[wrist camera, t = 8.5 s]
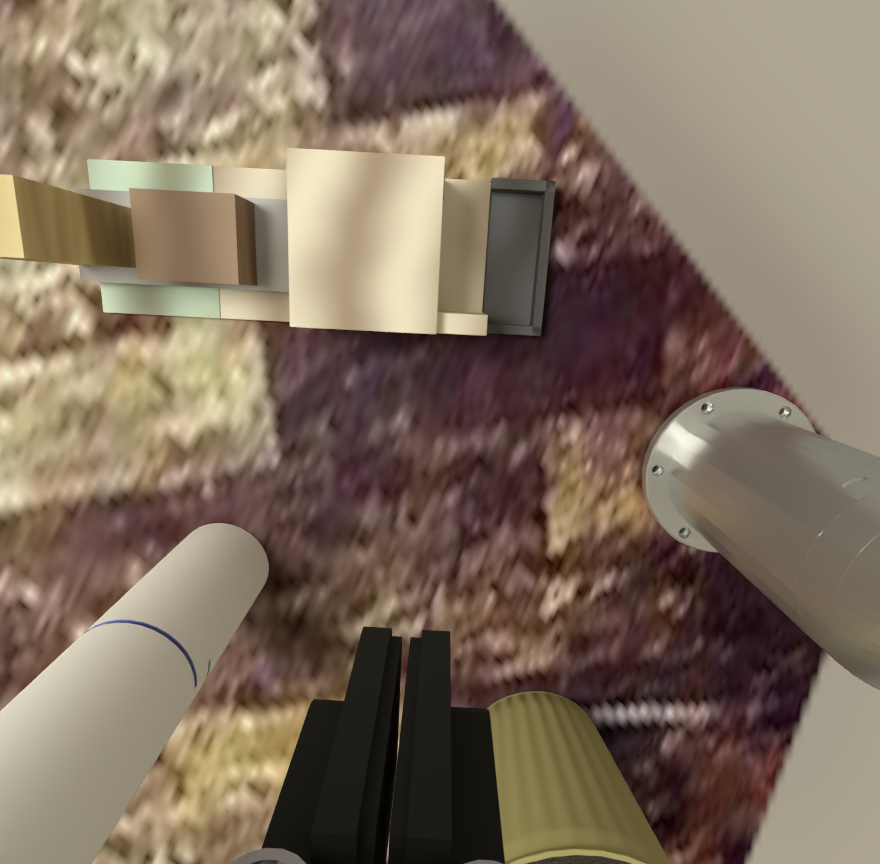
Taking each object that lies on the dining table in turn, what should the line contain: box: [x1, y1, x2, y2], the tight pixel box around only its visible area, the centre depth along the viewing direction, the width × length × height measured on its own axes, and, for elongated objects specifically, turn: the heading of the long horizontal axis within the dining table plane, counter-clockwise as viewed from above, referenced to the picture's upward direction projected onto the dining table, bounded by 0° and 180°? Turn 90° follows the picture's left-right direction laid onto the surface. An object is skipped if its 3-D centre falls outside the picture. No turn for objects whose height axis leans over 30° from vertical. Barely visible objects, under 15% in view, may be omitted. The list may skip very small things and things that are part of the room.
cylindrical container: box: [0, 523, 269, 864], centre depth 29 cm, size 7×7×25 cm
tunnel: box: [87, 148, 556, 336], centre depth 32 cm, size 30×10×6 cm, turn 87°
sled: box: [0, 174, 289, 292], centre depth 29 cm, size 16×6×11 cm, turn 87°
